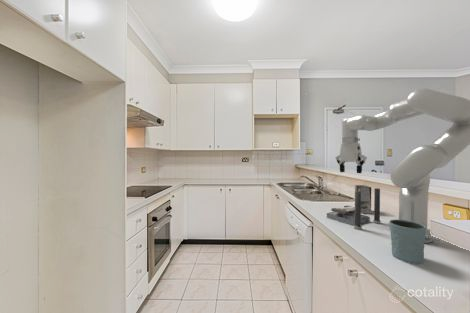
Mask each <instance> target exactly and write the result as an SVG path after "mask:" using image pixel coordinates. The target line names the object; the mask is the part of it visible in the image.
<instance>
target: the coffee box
mask: <svg viewBox="0 0 470 313" xmlns="http://www.w3.org/2000/svg"><path fill="white" fill-rule="evenodd" d="M355 191H360V192H361V214H368V215H369V214H370V215H371V214H372V187H371V186H368V185H366V184H364V185H363V184H355V185H354V192H355Z"/></svg>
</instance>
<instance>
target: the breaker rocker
mask: <svg viewBox="0 0 470 313" xmlns="http://www.w3.org/2000/svg"><path fill="white" fill-rule="evenodd" d="M336 208H337V209H341V210H345V211H353V210H355V206H351V207H344V206H343V207H336Z"/></svg>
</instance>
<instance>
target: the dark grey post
mask: <svg viewBox="0 0 470 313" xmlns="http://www.w3.org/2000/svg"><path fill="white" fill-rule="evenodd" d="M373 190H374V205H373V208H374V209H373V210H374V211H373V212H374V214H373V215H374V216H373V217H374V219H373V220H372V222H373V224H375V225H381V223H382V221H381V219H380V218H381V217H380V216H381V215H380V214H381V211H380V209H381V188H378V187H377V188H376V187H375V188H374V189H373Z"/></svg>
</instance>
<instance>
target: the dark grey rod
mask: <svg viewBox="0 0 470 313" xmlns="http://www.w3.org/2000/svg"><path fill="white" fill-rule="evenodd" d="M354 207H355V225H354V226H353V229H355V230H359V231H361V230H362V228H363V226H362V224H361V215H362V213H361V192H360V191H355V190H354Z"/></svg>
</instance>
